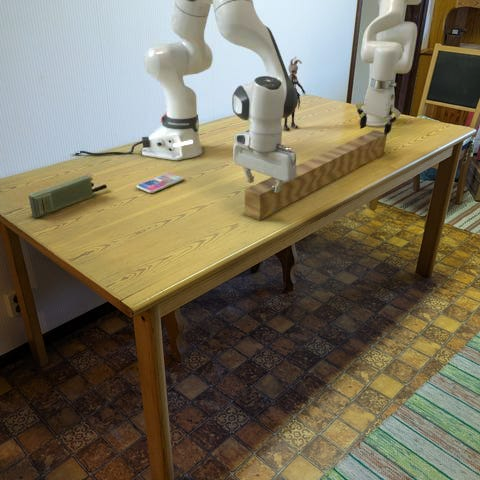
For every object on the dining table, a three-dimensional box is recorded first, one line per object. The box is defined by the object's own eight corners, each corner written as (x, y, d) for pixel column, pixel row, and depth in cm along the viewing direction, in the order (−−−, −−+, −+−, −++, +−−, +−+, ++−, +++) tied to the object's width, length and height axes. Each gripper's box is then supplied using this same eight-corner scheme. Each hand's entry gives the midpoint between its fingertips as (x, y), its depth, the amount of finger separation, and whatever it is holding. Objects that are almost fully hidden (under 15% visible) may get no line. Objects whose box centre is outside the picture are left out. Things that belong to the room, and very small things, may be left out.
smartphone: (184, 177, 167) (150, 191, 157) (184, 180, 167) (151, 194, 157) (168, 171, 171) (134, 185, 161) (168, 174, 171) (135, 188, 161)
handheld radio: (30, 215, 144) (102, 188, 161) (37, 219, 142) (109, 191, 159) (26, 193, 140) (100, 168, 157) (33, 197, 138) (107, 171, 155)
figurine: (282, 133, 213) (286, 58, 198) (272, 129, 216) (275, 56, 202) (305, 126, 221) (311, 54, 206) (295, 123, 225) (300, 52, 210)
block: (259, 220, 143) (260, 194, 139) (244, 214, 146) (244, 189, 142) (384, 153, 193) (387, 133, 189) (371, 150, 196) (373, 130, 192)
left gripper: (303, 146, 133) (299, 194, 140) (244, 128, 145) (243, 173, 152) (289, 152, 129) (285, 201, 136) (229, 134, 140) (229, 179, 147)
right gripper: (409, 85, 175) (401, 133, 184) (364, 77, 185) (358, 123, 194) (399, 90, 170) (391, 138, 179) (354, 81, 180) (348, 128, 189)
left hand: (262, 186), depth 144 cm, fingers open, 8 cm apart
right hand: (374, 130), depth 187 cm, fingers open, 9 cm apart
